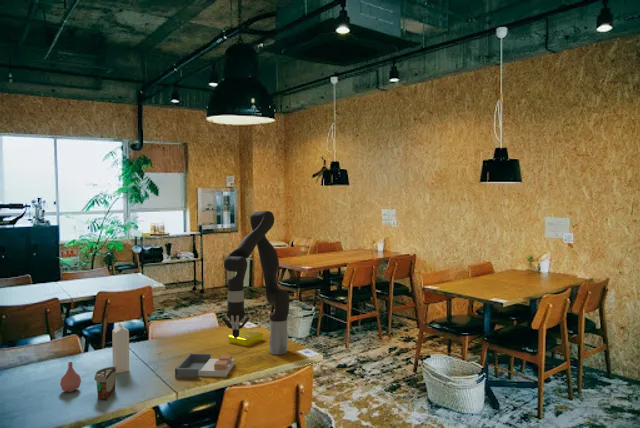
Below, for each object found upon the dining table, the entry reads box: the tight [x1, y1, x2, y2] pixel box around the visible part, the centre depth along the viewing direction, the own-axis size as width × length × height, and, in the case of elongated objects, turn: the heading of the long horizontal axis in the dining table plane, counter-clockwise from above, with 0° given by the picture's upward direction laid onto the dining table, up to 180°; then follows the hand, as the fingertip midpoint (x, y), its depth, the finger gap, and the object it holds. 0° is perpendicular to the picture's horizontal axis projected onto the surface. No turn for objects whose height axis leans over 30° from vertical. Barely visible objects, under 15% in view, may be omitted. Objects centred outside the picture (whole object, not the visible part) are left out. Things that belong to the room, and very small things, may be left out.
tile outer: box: [214, 361, 228, 370], centre depth 218 cm, size 5×5×2 cm
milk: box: [111, 322, 130, 374], centre depth 220 cm, size 6×6×22 cm
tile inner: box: [218, 354, 233, 364], centre depth 226 cm, size 5×5×2 cm
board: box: [199, 358, 235, 378], centre depth 222 cm, size 12×16×2 cm
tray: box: [174, 352, 212, 379], centre depth 222 cm, size 10×21×4 cm, turn 177°
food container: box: [93, 366, 117, 401], centre depth 192 cm, size 12×6×10 cm, turn 5°
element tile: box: [227, 329, 264, 347], centre depth 267 cm, size 15×15×5 cm
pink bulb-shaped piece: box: [59, 361, 82, 393], centre depth 197 cm, size 8×8×12 cm
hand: (235, 337), depth 217 cm, fingers closed
